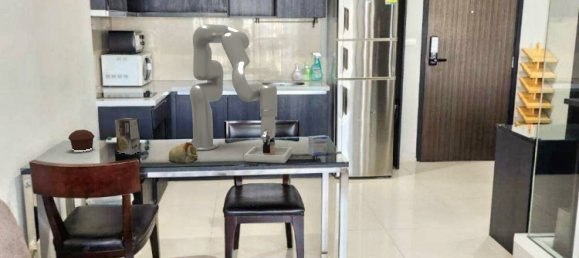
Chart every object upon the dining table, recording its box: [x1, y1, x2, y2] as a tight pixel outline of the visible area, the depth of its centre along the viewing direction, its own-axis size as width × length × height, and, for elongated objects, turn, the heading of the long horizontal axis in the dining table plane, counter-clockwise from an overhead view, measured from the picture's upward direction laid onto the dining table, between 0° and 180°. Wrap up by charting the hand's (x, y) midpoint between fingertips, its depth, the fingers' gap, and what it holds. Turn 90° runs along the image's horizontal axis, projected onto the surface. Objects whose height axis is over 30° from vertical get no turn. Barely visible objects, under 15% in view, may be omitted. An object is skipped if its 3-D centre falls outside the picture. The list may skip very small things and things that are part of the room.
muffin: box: [67, 129, 96, 150], centre depth 241 cm, size 12×11×10 cm
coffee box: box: [114, 117, 141, 155], centre depth 236 cm, size 9×6×16 cm
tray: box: [243, 145, 293, 164], centre depth 227 cm, size 18×18×3 cm
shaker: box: [264, 141, 276, 155], centre depth 227 cm, size 5×5×6 cm
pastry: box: [168, 142, 198, 164], centre depth 223 cm, size 14×12×8 cm
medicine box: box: [308, 134, 329, 157], centre depth 233 cm, size 8×4×9 cm, turn 117°
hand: (268, 150), depth 227 cm, fingers open, 9 cm apart
